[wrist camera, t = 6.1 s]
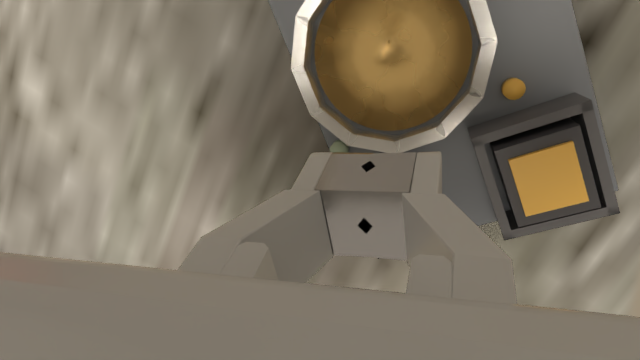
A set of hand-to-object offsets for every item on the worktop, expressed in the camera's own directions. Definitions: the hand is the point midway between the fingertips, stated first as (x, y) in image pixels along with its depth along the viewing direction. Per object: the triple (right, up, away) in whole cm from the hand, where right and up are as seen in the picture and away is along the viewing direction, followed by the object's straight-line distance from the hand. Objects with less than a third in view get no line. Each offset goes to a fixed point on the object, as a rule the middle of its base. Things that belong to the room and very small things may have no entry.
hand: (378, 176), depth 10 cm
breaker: (+8, +1, +9) cm, 12 cm away
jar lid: (+2, +6, +10) cm, 11 cm away
